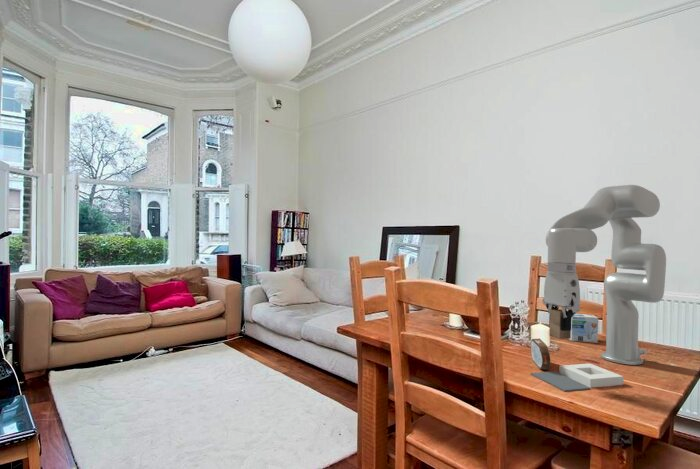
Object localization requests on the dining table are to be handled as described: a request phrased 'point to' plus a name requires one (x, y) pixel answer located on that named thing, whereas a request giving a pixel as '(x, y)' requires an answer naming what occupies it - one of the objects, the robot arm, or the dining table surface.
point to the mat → (560, 381)
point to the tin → (540, 354)
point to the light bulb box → (584, 328)
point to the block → (557, 325)
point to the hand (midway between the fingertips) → (559, 327)
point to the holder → (591, 375)
